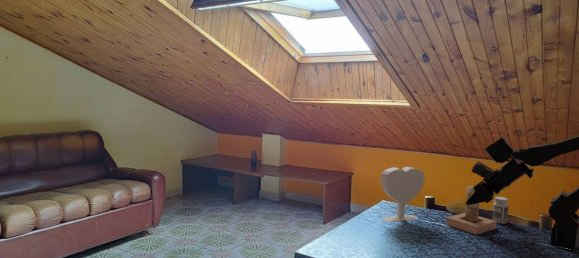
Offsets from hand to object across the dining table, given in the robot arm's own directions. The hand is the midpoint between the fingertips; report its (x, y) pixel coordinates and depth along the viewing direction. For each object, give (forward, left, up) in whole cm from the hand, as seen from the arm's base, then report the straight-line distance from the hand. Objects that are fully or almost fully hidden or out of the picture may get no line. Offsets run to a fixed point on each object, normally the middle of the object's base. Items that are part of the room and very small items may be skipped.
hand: (468, 202), depth 140 cm
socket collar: (-1, 0, -8) cm, 8 cm away
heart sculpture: (+17, +14, -8) cm, 23 cm away
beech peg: (-1, 0, -7) cm, 7 cm away
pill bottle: (-3, -14, -8) cm, 17 cm away
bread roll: (+12, -13, -8) cm, 19 cm away
